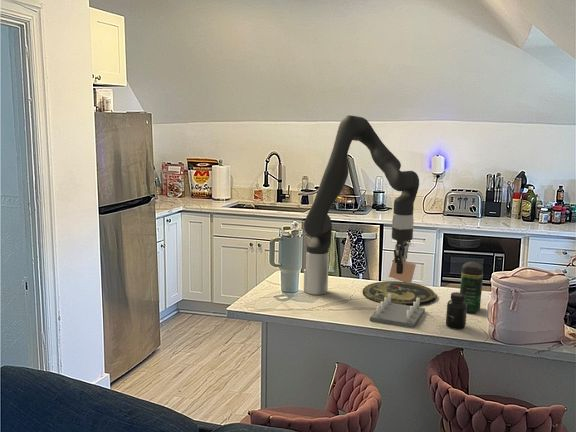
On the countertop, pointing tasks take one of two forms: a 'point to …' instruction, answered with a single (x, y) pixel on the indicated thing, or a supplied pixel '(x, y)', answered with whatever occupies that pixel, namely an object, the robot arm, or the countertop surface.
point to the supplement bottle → (456, 311)
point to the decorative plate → (399, 293)
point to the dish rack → (398, 313)
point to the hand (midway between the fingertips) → (400, 272)
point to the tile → (407, 271)
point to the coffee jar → (472, 285)
